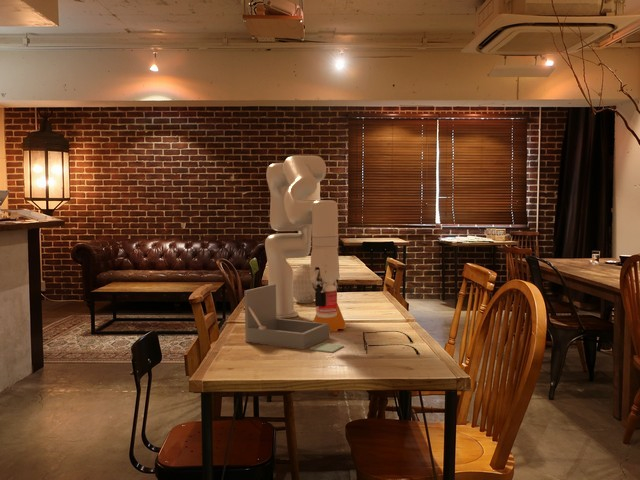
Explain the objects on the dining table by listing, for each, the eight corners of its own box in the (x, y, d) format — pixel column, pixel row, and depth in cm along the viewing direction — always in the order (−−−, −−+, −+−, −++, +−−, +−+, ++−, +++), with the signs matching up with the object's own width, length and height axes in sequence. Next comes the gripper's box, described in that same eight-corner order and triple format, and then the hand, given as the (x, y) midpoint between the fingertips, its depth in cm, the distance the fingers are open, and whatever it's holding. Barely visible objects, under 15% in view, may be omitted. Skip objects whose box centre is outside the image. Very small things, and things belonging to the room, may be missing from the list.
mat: (309, 349, 156) (309, 348, 156) (321, 344, 163) (321, 342, 163) (332, 352, 153) (332, 351, 153) (344, 346, 159) (344, 345, 159)
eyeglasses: (361, 342, 165) (361, 330, 165) (413, 342, 165) (413, 329, 165) (364, 357, 149) (364, 343, 149) (421, 357, 148) (421, 342, 148)
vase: (302, 298, 245) (301, 262, 244) (325, 301, 238) (324, 263, 237) (284, 303, 235) (283, 265, 234) (308, 305, 228) (307, 266, 227)
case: (245, 342, 167) (244, 290, 166) (274, 331, 181) (273, 284, 180) (303, 349, 157) (302, 295, 156) (329, 337, 171) (328, 287, 170)
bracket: (344, 326, 187) (343, 292, 186) (345, 331, 180) (344, 295, 179) (313, 327, 187) (312, 292, 186) (313, 331, 180) (312, 296, 179)
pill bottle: (341, 316, 156) (340, 278, 156) (323, 318, 153) (323, 280, 152) (329, 313, 161) (328, 276, 161) (312, 315, 158) (311, 278, 157)
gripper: (327, 241, 165) (328, 299, 166) (298, 244, 150) (300, 308, 151) (349, 241, 162) (350, 300, 163) (322, 244, 147) (323, 310, 147)
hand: (326, 303), depth 157 cm, fingers closed on pill bottle, 6 cm apart
